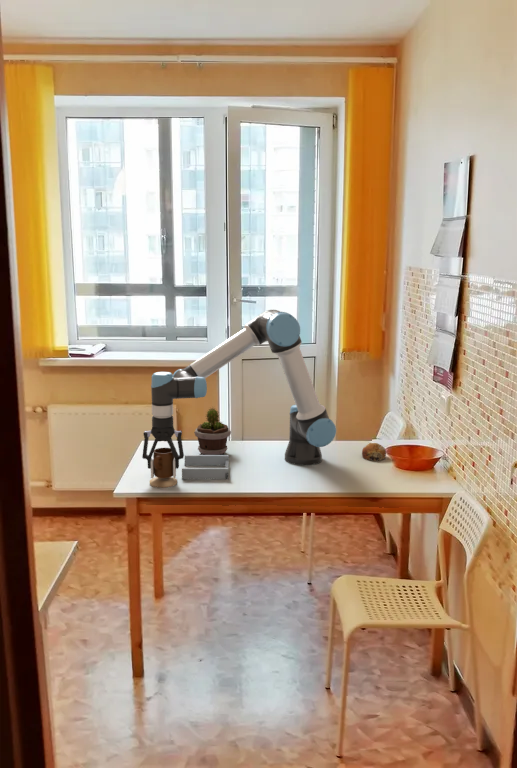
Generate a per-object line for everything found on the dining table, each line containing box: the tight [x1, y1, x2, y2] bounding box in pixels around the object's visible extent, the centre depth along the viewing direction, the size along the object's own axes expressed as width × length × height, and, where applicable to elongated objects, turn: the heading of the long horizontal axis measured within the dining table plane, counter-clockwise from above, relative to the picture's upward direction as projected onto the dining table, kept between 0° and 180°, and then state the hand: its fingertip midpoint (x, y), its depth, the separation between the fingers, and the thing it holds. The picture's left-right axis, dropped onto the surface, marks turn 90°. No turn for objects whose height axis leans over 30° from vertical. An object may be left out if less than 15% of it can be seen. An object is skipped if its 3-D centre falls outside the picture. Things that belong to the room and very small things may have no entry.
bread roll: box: [361, 442, 387, 462], centre depth 274 cm, size 10×10×8 cm
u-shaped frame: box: [181, 454, 230, 480], centre depth 253 cm, size 17×17×4 cm
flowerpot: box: [194, 406, 232, 455], centre depth 274 cm, size 14×15×20 cm
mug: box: [152, 447, 175, 478], centre depth 240 cm, size 12×8×9 cm, turn 166°
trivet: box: [149, 476, 178, 489], centre depth 240 cm, size 10×10×1 cm
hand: (163, 476), depth 240 cm, fingers closed on mug, 7 cm apart
